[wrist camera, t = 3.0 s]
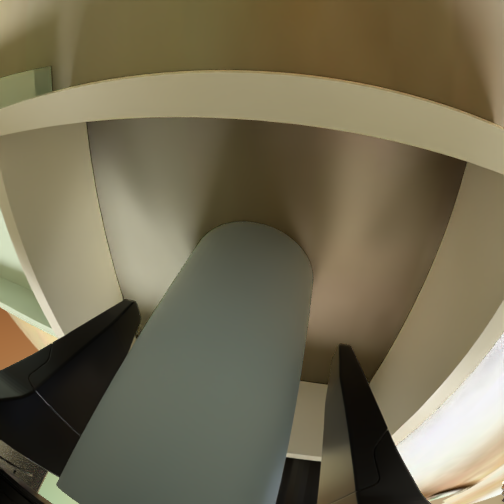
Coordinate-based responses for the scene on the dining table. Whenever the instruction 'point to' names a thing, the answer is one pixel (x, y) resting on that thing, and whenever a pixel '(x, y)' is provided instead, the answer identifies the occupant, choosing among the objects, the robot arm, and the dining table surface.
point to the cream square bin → (284, 111)
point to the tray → (3, 253)
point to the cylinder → (205, 382)
